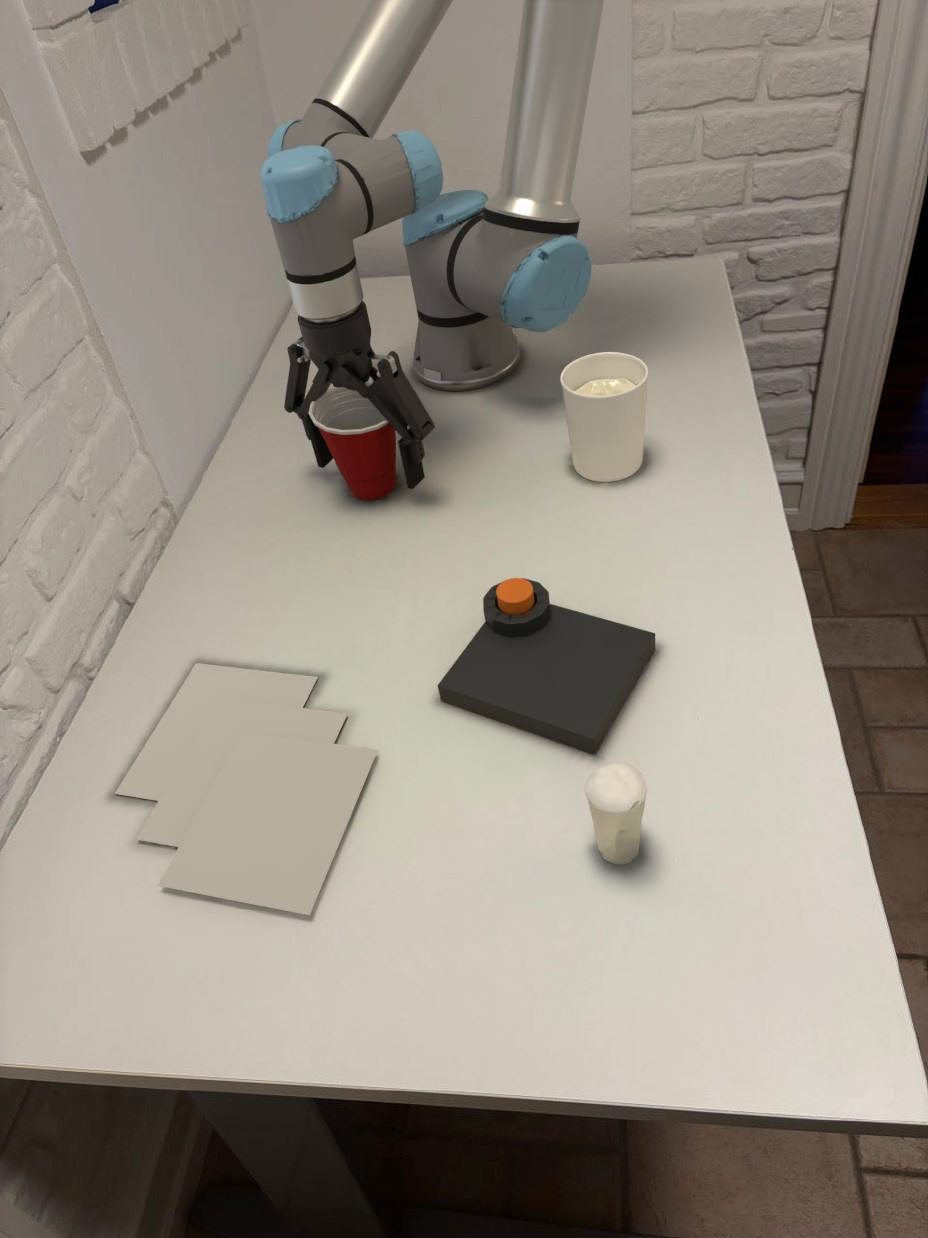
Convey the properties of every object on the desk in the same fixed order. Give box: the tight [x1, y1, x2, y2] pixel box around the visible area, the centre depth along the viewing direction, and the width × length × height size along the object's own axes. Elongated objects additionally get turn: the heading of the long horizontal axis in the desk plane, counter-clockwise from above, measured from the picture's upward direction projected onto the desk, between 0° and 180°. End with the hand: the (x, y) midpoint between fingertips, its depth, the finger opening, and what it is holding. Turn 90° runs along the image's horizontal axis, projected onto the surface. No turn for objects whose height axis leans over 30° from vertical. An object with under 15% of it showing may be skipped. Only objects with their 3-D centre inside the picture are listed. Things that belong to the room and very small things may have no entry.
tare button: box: [496, 577, 534, 615], centre depth 94 cm, size 4×4×2 cm
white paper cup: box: [559, 351, 649, 483], centre depth 111 cm, size 10×10×12 cm
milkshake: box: [584, 761, 648, 866], centre depth 73 cm, size 4×5×10 cm
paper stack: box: [114, 662, 379, 916], centre depth 87 cm, size 23×25×1 cm
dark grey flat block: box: [437, 577, 656, 755], centre depth 91 cm, size 15×17×4 cm
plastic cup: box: [309, 381, 397, 502], centre depth 114 cm, size 11×11×12 cm
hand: (370, 472), depth 117 cm, fingers open, 13 cm apart
